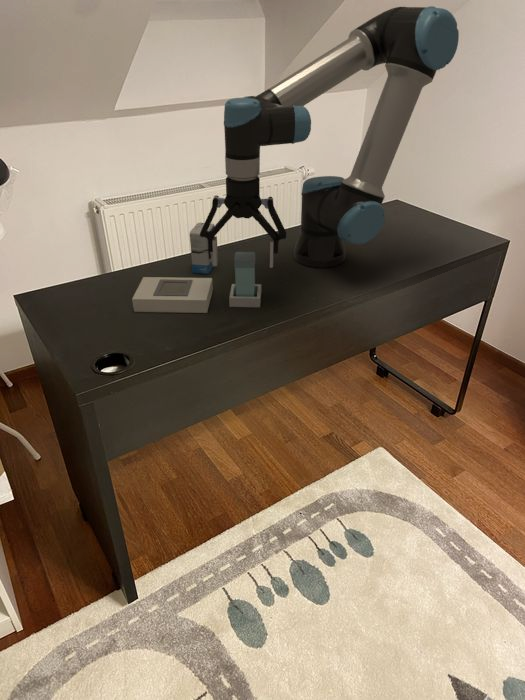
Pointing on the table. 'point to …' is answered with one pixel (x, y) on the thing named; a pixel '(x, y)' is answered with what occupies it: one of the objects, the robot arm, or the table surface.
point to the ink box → (200, 250)
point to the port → (173, 295)
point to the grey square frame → (245, 298)
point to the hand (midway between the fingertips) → (243, 264)
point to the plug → (245, 274)
